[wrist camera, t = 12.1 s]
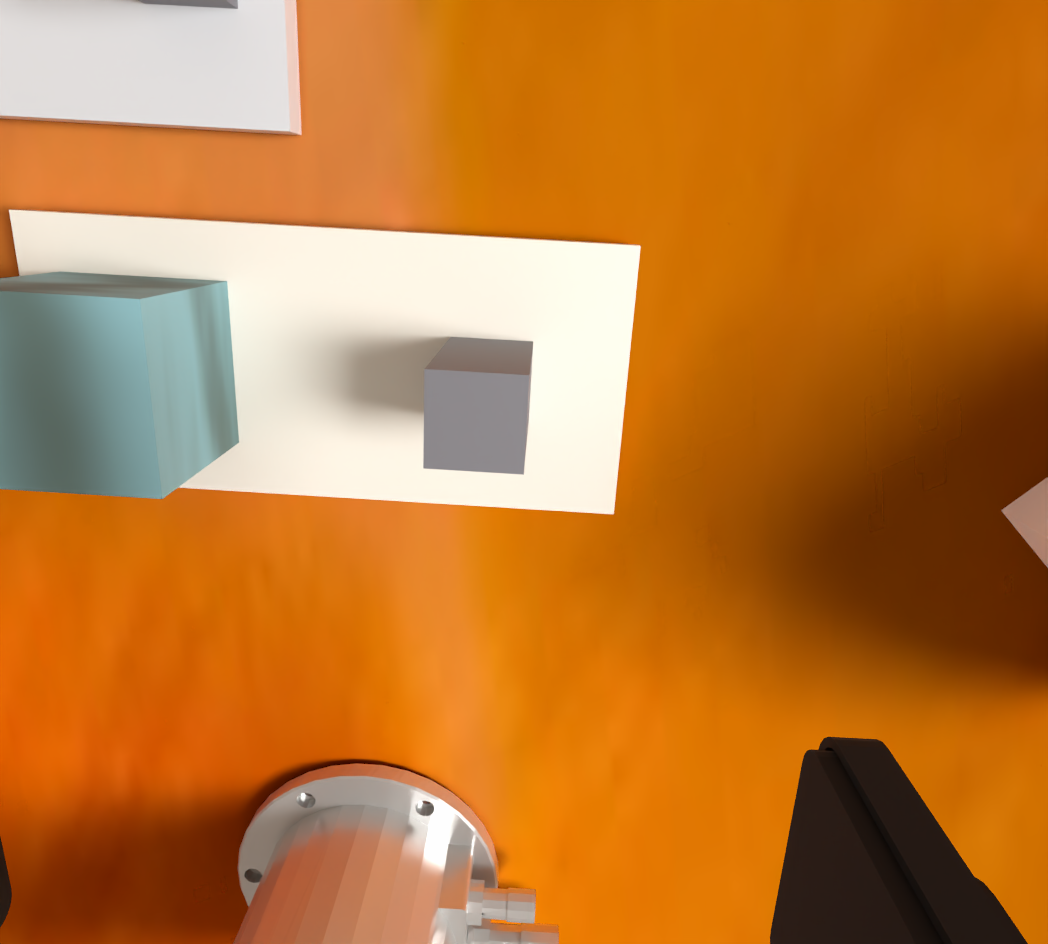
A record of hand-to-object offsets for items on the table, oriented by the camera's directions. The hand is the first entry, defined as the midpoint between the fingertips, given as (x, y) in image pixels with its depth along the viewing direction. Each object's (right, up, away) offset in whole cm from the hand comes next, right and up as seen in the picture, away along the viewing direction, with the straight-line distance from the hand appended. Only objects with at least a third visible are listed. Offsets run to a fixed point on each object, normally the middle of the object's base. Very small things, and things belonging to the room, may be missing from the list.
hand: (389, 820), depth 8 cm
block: (-12, +8, +19) cm, 24 cm away
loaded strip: (-6, +8, +20) cm, 22 cm away
